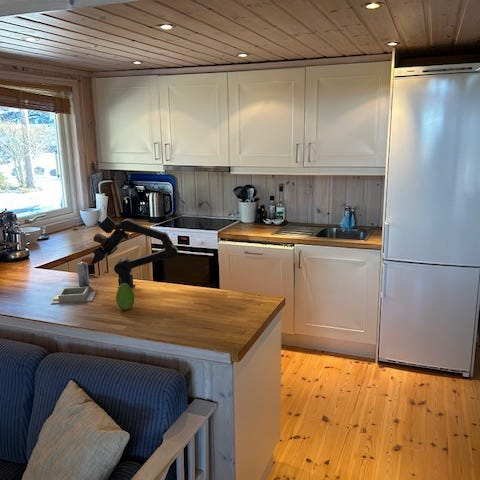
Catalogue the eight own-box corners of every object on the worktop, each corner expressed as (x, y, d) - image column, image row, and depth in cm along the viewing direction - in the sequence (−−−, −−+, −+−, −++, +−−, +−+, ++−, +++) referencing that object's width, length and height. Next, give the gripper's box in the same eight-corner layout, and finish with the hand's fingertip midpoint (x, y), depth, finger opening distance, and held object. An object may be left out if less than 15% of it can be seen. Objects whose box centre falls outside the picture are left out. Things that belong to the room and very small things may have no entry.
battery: (95, 274, 267) (93, 256, 265) (82, 275, 264) (80, 258, 262) (94, 272, 271) (92, 255, 269) (81, 273, 268) (80, 256, 266)
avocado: (125, 313, 205) (123, 286, 203) (112, 310, 209) (110, 283, 207) (139, 307, 212) (137, 281, 209) (126, 304, 216) (124, 279, 213)
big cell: (91, 286, 245) (89, 261, 242) (85, 289, 240) (82, 263, 238) (83, 285, 247) (81, 260, 244) (77, 288, 242) (74, 263, 239)
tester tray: (95, 292, 234) (95, 285, 233) (92, 301, 221) (91, 294, 221) (57, 295, 231) (56, 288, 231) (51, 304, 219) (50, 296, 218)
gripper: (109, 224, 245) (91, 246, 248) (95, 232, 227) (75, 255, 230) (126, 239, 246) (107, 260, 249) (112, 248, 228) (92, 270, 231)
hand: (95, 261), depth 240 cm, fingers open, 9 cm apart
